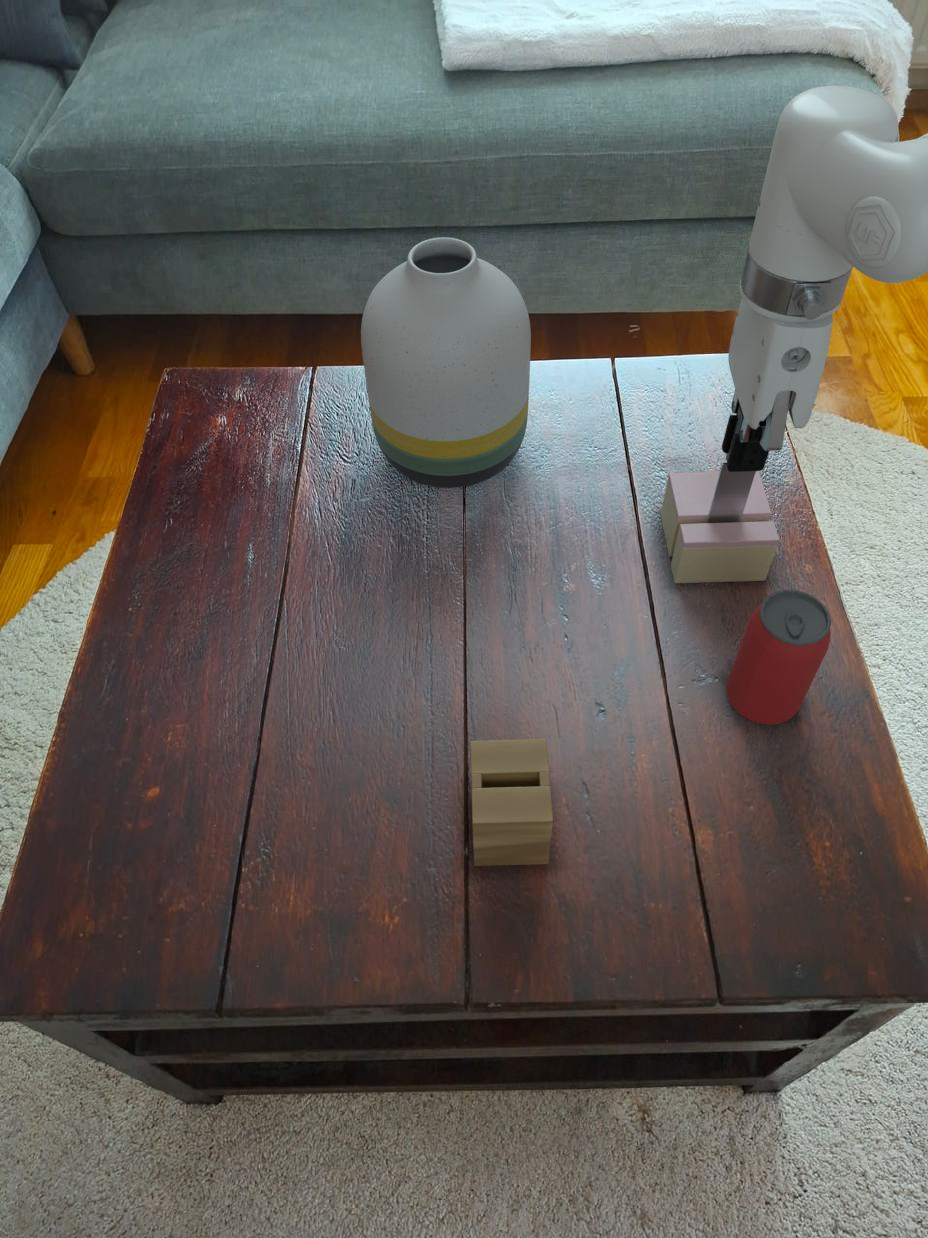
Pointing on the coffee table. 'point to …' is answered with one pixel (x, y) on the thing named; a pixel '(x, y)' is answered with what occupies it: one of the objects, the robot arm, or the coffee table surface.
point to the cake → (703, 502)
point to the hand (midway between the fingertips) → (742, 458)
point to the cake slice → (724, 552)
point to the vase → (447, 365)
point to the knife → (731, 487)
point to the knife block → (511, 802)
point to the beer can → (779, 656)
